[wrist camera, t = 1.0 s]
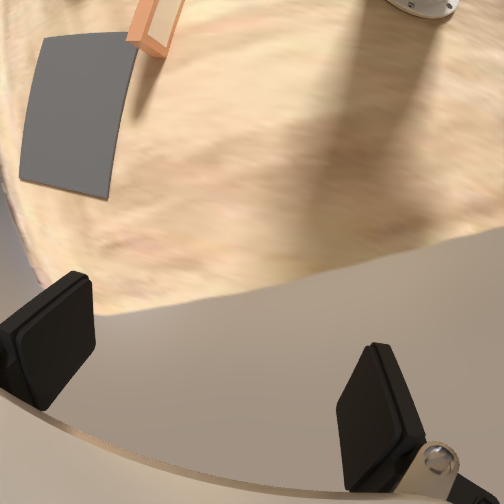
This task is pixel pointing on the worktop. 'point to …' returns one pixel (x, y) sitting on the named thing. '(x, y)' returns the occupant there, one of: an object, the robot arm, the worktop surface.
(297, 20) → the worktop surface
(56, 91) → the mat
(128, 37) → the block
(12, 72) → the worktop surface
